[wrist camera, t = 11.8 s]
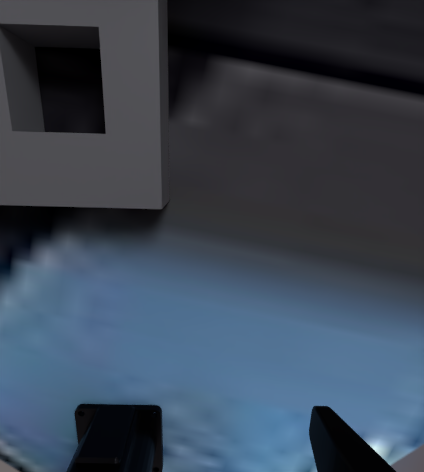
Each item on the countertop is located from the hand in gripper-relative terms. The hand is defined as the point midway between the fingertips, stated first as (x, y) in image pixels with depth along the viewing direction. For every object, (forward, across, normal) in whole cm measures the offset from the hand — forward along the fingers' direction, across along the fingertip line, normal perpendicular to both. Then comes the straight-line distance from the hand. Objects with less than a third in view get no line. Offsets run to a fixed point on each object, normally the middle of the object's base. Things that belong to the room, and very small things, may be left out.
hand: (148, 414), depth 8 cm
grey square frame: (+12, +6, -10) cm, 17 cm away
